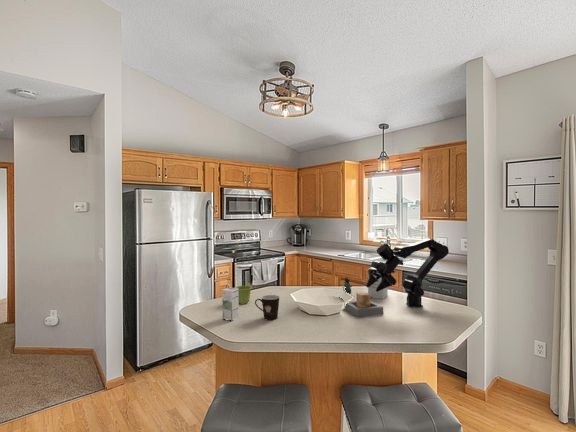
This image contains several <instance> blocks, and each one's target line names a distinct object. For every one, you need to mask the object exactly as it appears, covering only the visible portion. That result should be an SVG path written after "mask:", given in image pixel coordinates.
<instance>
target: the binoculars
mask: <svg viewBox="0 0 576 432" xmlns="http://www.w3.org/2000/svg"><path fill="white" fill-rule="evenodd" d="M343 282H344V283H343V284H344V286H343V288H344V287H346V288H345V290H346V291H345V290H344V291H345V293H346V292H347V293H349V294H351V295H352V288H351V287H353V286H352V285H351V282H350V279H349V277H344V281H343Z"/></svg>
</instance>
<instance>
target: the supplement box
mask: <svg viewBox="0 0 576 432" xmlns="http://www.w3.org/2000/svg"><path fill="white" fill-rule="evenodd" d="M371 268H372V269H375V268H373V267H369V268H367V271H368V270H369V269H371ZM375 270H376V269H375ZM377 272H378V271H377ZM368 280H369V274H368V273H367V281H368ZM381 280H382V278H379V279H378V281H377V282H375V283H374V284H372V285H371V286H370V287H368V288H367V293H368V294H370V298H375V299H381V300H384V299H385V298H387V297H388V296H389V295H388V293H389V292H388V291H389V289H388V288H389V287H387V288H384V289H382V290H380V291H378V292H377V291H376V289H377V287H378V286H379V284H380V283H381Z"/></svg>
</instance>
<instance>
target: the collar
mask: <svg viewBox="0 0 576 432" xmlns="http://www.w3.org/2000/svg"><path fill="white" fill-rule="evenodd" d="M348 302H349V303H347V304H346V306H345V305H344V309H345V310H346V311H347V312H349V313H351V314H353V315H354V316H355V317H357V318H362V317H369V316H378V315H380V316H381V315H384V306H383V305H380V304H378V303H376V302H374V301H372V300H370V307H366V308H358V307H357V301H356V300H353V301H348Z"/></svg>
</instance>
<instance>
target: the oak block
mask: <svg viewBox="0 0 576 432" xmlns="http://www.w3.org/2000/svg"><path fill="white" fill-rule="evenodd" d="M355 296H356V298H355V299H356V300H355V301H357V307H358V308H366V307H370V301H371V297H370V294H368V292H366V291H363V292H356V295H355Z"/></svg>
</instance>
